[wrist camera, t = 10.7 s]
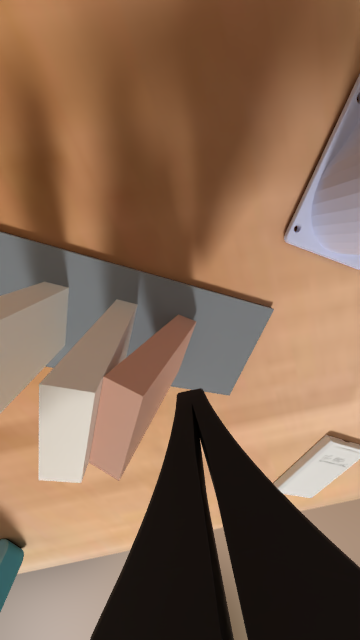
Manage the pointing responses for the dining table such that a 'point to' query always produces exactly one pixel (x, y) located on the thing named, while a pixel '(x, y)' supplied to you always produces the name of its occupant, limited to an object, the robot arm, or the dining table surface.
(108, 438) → the domino
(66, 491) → the dining table surface
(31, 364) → the domino
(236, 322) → the mat
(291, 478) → the external hard drive
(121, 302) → the domino
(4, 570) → the blue rounded slab
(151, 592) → the robot arm
